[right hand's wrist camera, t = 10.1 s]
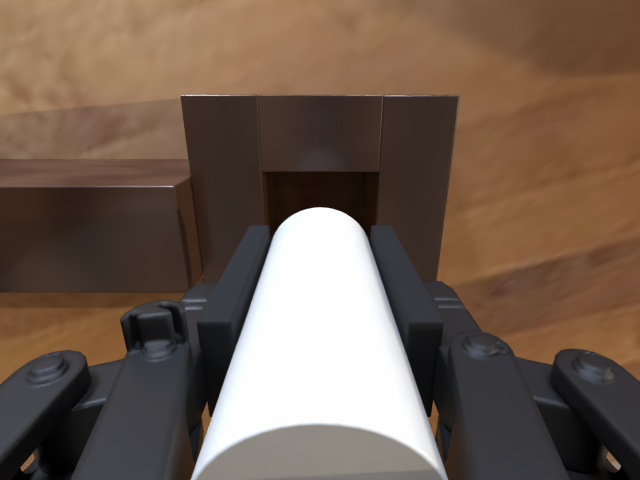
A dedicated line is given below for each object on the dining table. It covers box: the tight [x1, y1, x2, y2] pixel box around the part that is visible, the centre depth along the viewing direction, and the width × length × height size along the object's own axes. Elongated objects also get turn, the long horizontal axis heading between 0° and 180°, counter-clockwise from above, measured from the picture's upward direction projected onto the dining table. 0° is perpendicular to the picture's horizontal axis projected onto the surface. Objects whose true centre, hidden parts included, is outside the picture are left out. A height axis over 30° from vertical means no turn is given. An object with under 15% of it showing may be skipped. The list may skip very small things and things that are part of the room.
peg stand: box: [0, 95, 460, 292], centre depth 19 cm, size 32×12×7 cm, turn 90°
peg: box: [191, 207, 448, 480], centre depth 10 cm, size 4×4×10 cm
